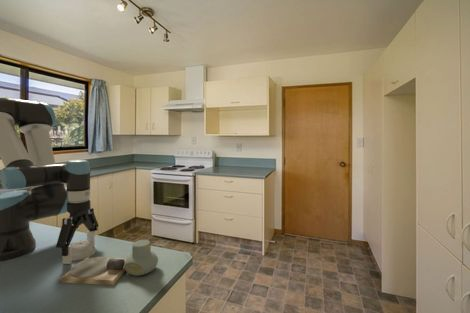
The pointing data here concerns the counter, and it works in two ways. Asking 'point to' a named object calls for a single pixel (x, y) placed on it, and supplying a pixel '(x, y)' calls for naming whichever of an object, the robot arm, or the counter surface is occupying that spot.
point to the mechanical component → (81, 250)
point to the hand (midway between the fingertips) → (79, 254)
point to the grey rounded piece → (141, 259)
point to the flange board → (95, 271)
